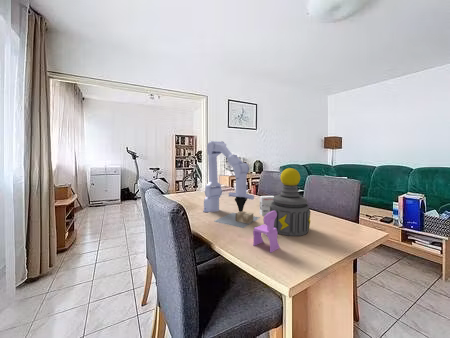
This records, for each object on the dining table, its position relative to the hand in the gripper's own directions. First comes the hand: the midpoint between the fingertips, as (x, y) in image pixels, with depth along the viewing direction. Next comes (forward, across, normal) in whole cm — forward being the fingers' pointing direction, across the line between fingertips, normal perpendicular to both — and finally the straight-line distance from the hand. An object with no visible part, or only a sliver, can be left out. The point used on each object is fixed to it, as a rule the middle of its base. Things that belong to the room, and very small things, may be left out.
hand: (240, 211), depth 115 cm
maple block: (+3, -2, 0) cm, 3 cm away
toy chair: (+6, +23, -21) cm, 32 cm away
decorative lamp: (+6, +25, +3) cm, 26 cm away
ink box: (+6, +8, +18) cm, 21 cm away
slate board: (+6, -2, 0) cm, 6 cm away
